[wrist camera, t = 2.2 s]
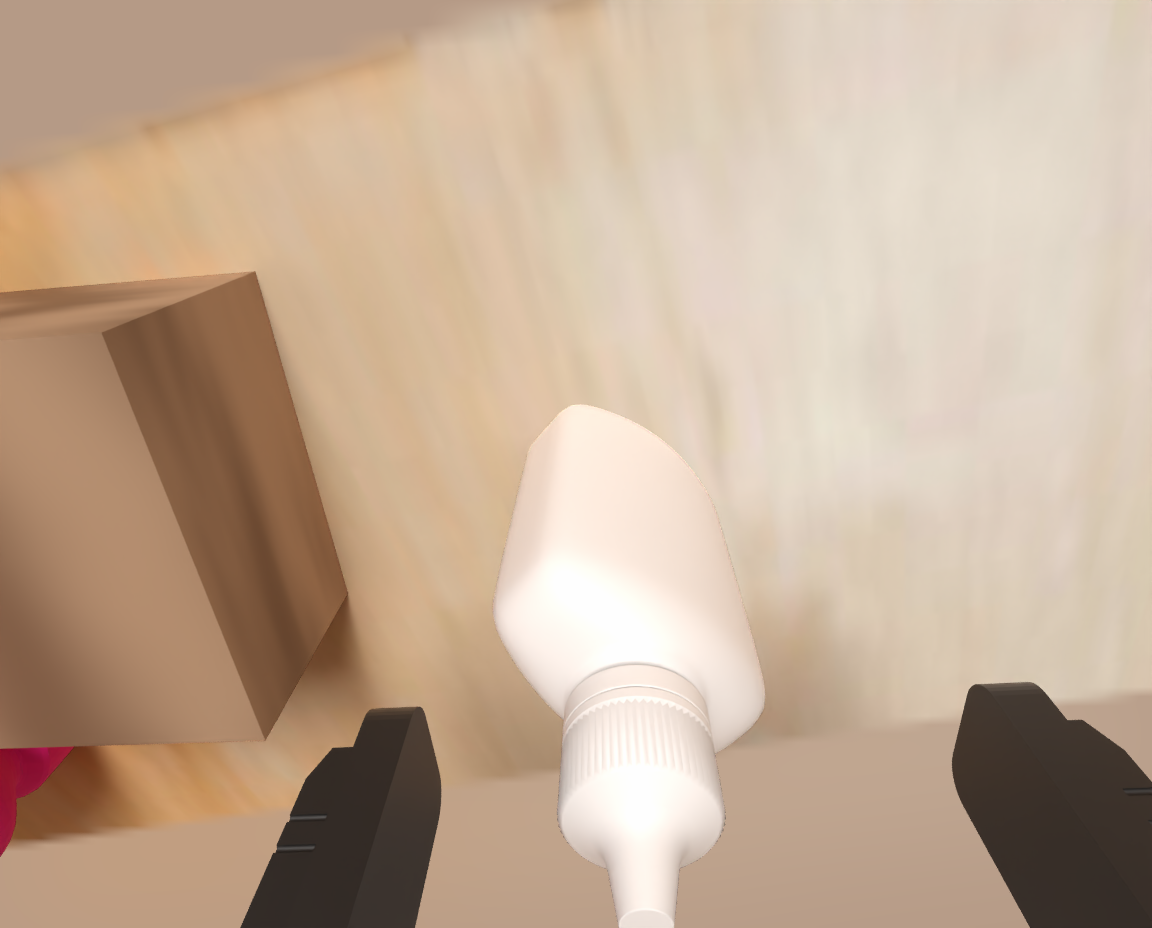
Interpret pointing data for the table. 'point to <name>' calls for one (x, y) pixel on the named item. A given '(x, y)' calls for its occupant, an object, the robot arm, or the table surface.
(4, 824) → the pepper mill
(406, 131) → the table surface
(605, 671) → the eye dropper bottle
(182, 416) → the walnut box
